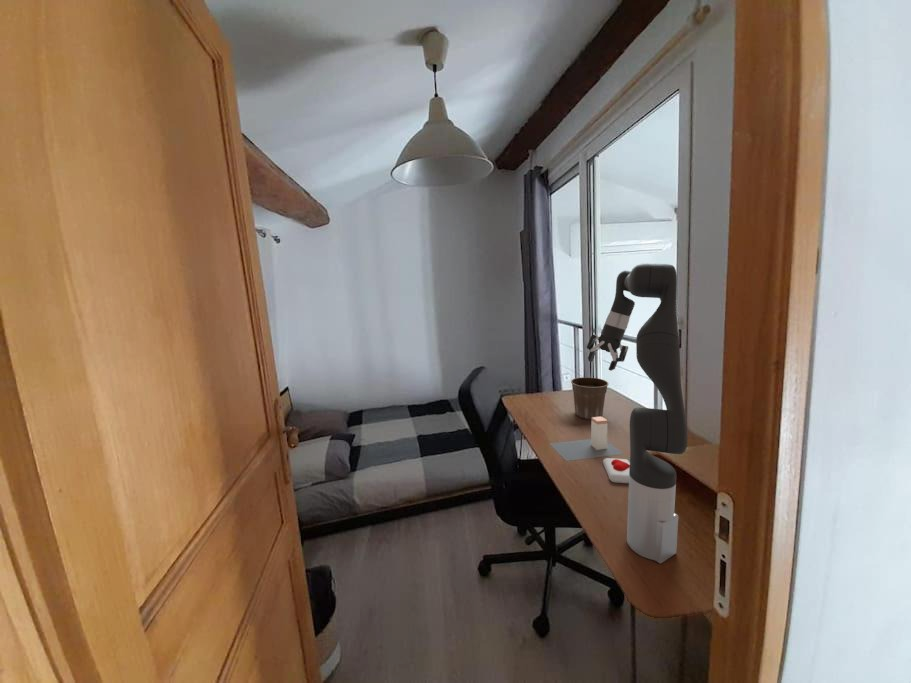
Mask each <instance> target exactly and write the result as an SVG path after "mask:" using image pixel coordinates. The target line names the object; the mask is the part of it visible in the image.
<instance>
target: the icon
mask: <svg viewBox="0 0 911 683" xmlns="http://www.w3.org/2000/svg"><path fill="white" fill-rule="evenodd" d="M602 464H603V466H604V469H605V471H606V474H607V476H608V478H609V480H610V481H611V482H612V483H617V484H629V469H630V460H628V459H626V458H612V457H611V458H609V457H604V459H603V461H602Z"/></svg>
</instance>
